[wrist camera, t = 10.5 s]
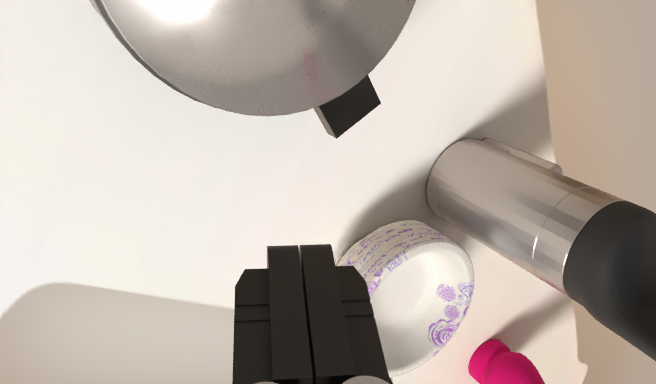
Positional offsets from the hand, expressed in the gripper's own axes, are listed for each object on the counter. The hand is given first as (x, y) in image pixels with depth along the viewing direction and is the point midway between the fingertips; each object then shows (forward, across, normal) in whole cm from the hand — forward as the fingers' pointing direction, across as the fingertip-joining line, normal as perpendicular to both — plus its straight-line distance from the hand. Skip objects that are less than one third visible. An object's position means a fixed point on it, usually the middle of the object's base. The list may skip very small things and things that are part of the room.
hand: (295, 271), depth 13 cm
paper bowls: (+31, -11, +31) cm, 45 cm away
